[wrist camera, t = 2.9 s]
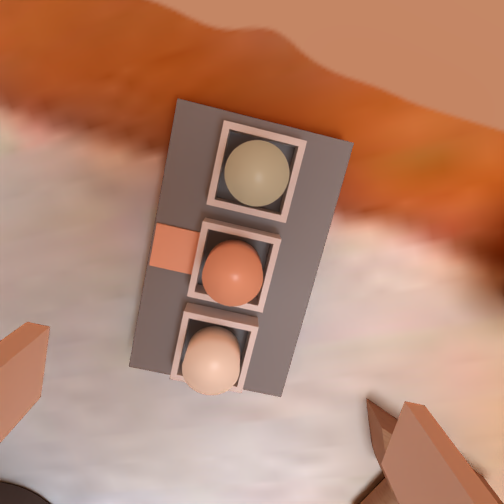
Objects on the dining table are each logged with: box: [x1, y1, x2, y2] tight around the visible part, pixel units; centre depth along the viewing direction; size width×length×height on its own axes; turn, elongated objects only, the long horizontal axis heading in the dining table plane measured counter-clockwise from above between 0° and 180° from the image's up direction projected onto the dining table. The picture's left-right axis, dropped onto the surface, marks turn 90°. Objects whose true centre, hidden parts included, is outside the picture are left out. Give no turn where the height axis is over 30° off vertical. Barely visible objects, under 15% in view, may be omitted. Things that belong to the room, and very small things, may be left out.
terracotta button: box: [202, 240, 263, 306], centre depth 28 cm, size 4×4×3 cm
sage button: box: [224, 140, 289, 207], centre depth 27 cm, size 4×4×3 cm
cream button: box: [182, 326, 240, 395], centre depth 30 cm, size 4×4×3 cm
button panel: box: [129, 99, 354, 397], centre depth 32 cm, size 14×23×5 cm, turn 167°
